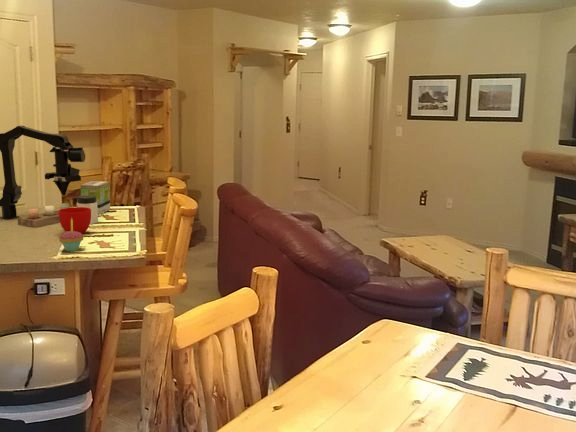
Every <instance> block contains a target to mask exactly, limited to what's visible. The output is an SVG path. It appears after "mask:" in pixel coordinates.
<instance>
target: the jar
mask: <svg viewBox="0 0 576 432" xmlns="http://www.w3.org/2000/svg"><path fill="white" fill-rule="evenodd" d="M76 200H77V202H76V207H86V208H90V209H91V221H90V225H94V224H98V223H99V215H98V208H97V202H96V196H91V195H87V196H81V195H79V196H77V197H76Z"/></svg>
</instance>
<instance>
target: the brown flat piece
mask: <svg viewBox="0 0 576 432" xmlns="http://www.w3.org/2000/svg"><path fill="white" fill-rule="evenodd" d="M59 210H60V209H58V210H54V211H55V215H52V216H46V215H45V212H43V213H38V214H39V218H37V219H29V215H27V216H21V217H18V218H17V225H19V226H24V227H29V228H41V227H45V226H50V225H51V226H52V225H56V224H60V220H59V215H58V211H59Z"/></svg>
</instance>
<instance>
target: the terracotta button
mask: <svg viewBox="0 0 576 432" xmlns="http://www.w3.org/2000/svg"><path fill="white" fill-rule="evenodd" d="M27 211H28V216H29V219H37V218H39V214H40V213H39V208H33V207H32V208H28V210H27Z"/></svg>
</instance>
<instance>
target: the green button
mask: <svg viewBox="0 0 576 432" xmlns="http://www.w3.org/2000/svg"><path fill="white" fill-rule="evenodd" d="M59 205H60V209H64V208H71V206H70V203H69V202H61V203H60V204H59Z"/></svg>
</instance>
